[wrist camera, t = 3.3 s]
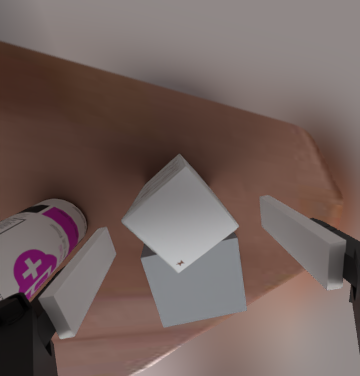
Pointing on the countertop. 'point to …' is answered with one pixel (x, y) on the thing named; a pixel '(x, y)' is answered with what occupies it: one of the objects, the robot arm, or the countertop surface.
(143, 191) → the supplement box
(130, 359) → the countertop surface
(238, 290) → the slate riser block
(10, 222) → the supplement can
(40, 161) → the countertop surface
